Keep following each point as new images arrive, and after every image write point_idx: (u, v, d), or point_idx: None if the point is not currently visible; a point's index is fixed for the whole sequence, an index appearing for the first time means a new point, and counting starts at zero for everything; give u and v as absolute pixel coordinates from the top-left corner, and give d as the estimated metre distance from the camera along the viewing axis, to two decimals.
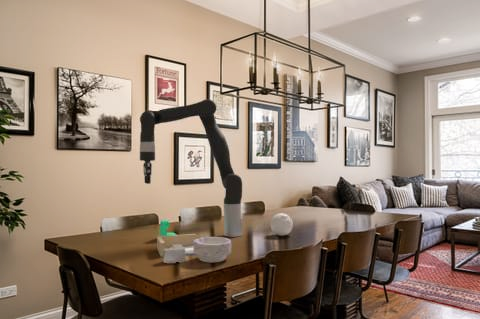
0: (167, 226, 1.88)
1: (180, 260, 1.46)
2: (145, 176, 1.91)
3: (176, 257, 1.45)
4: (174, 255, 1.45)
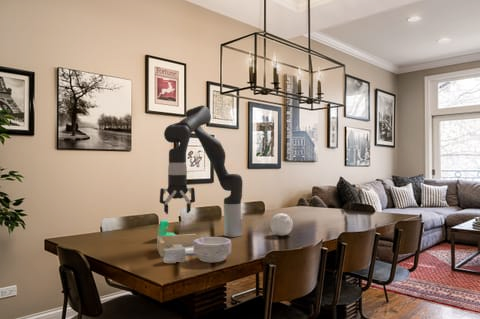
0: (166, 226, 1.88)
1: (180, 260, 1.46)
2: None
3: (176, 257, 1.45)
4: (174, 255, 1.45)
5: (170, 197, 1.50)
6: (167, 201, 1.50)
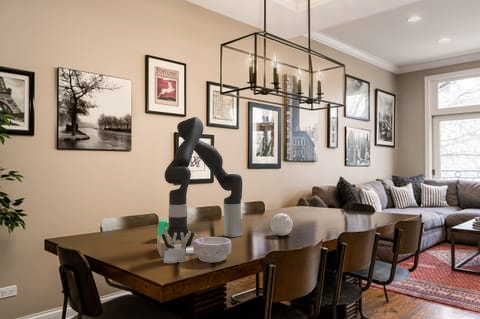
0: (165, 226, 1.88)
1: (180, 260, 1.45)
2: None
3: (176, 257, 1.45)
4: (174, 255, 1.45)
5: (173, 240, 1.50)
6: (173, 245, 1.50)
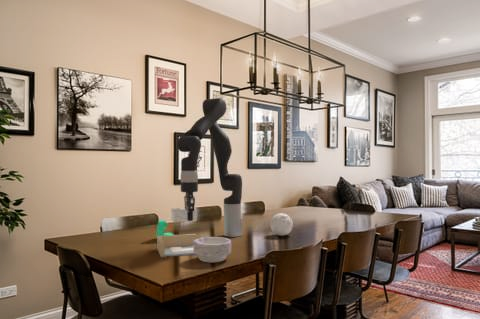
0: (164, 226, 1.88)
1: (173, 220, 1.62)
2: None
3: (172, 216, 1.63)
4: (172, 214, 1.64)
5: None
6: (185, 208, 1.66)
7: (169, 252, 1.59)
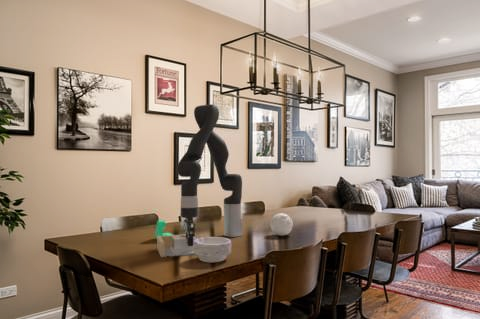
0: (163, 226, 1.88)
1: (173, 248, 1.62)
2: (186, 236, 1.66)
3: (173, 244, 1.63)
4: (173, 242, 1.64)
5: (184, 227, 1.66)
6: (185, 232, 1.66)
7: (169, 252, 1.59)
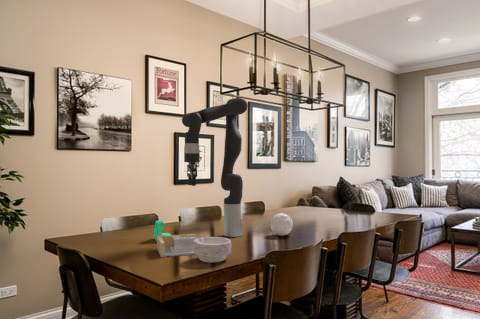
0: (162, 226, 1.87)
1: (173, 248, 1.62)
2: (189, 178, 1.88)
3: (173, 244, 1.63)
4: (173, 242, 1.64)
5: (187, 171, 1.87)
6: (188, 174, 1.88)
7: (169, 252, 1.59)
